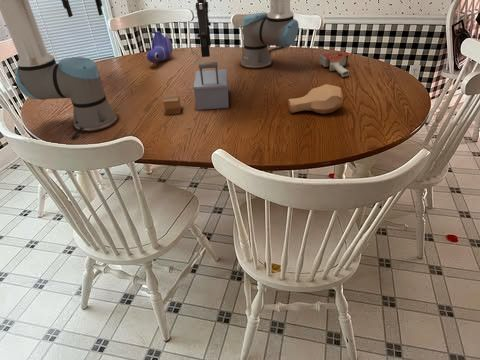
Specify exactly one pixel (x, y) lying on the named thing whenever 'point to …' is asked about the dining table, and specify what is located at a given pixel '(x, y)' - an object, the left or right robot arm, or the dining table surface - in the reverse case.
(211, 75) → the lid
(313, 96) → the squash
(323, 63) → the grey red-topped piece
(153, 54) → the toy
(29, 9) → the left robot arm
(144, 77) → the dining table surface
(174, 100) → the block
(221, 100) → the chest
